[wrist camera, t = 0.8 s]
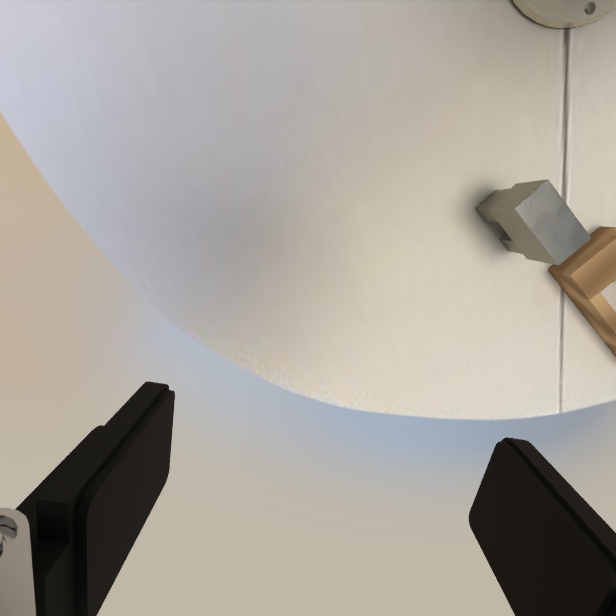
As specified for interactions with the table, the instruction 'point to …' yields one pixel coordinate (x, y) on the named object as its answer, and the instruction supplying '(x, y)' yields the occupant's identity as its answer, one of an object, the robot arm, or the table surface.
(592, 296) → the slotted wooden block
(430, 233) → the table surface
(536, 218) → the clip
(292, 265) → the table surface
